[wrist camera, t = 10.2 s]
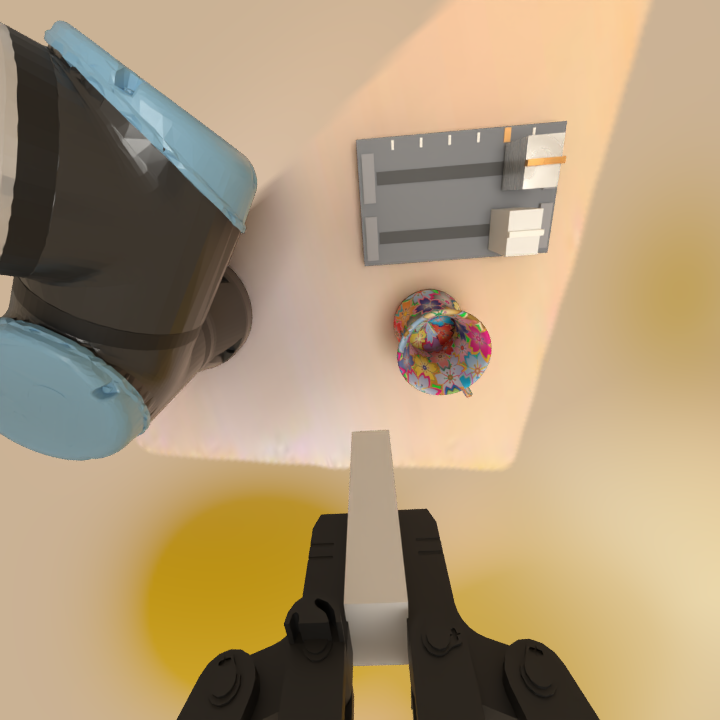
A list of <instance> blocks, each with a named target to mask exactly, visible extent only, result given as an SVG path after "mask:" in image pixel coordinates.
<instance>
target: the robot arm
mask: <svg viewBox="0 0 720 720" xmlns="http://www.w3.org/2000/svg"><path fill="white" fill-rule="evenodd" d="M44 39H45V41H46V42H47V43H48V47H47V46H43V45H41V44H39V43H37V42H36V41H33V40H32V39H30V38H28V37H27V36H24V35H23V34H21V33H19V32H17V31H16V30H14V29H12V28H10V27H8V26H6V25H5V24H3V23H1V22H0V275H8V276H14V279H13V286H12V291H11V298H10V304H9V308H8V310H7V312H6V313H5V314H4V315H3V316H2V317H0V434H2V435H3V436H5V437H7V438H8V439H10V440H12V441H13V442H15V443H17V444H19V445H21V446H23V447H26V448H28V449H30V450H33V451H36V452H38V453H42V454H44V455H48V456H52V457H56V458H61V459H67V460H89V459H92V458H93V459H98V458H104V457H107V456H110V455H112V454H114V453H116V452H118V451H120V450H121V449H123V448H124V447H125V446H126V445H127V444H129V443H130V442H131V441H132V440H133V439H134V438H135V437H137V436H139V435H141V434H143V433H144V432H145V430H146V429H147V428H148V427H149V425H150V422H151V421H152V420H153V419H154V418H155V417H156V416H157V415H158V414H159V413H160V412H161V411H162V410H163V409H164V408H165V407H166V405H167V404H168V403H169V402H170V401H171V400H172V399H173V398H174V397H175V396H176V395H177V394H178V393H179V392H180V391H181V390H182V389H183V387H184V386H185V385H186V384H187V383H188V382H189V381H190V380H191V379H192V378H193V377H194V376H195V375H196V374H197V372H201V371H204V370H207V369H210V368H213V367H216V366H218V365H221V364H223V363H224V362H226V361H227V360H229V359H230V358H231V357H233V356H234V355H235V354H236V353H237V351H238V350H239V349H240V348H241V347H242V345H243V344H244V343H245V341H246V339H247V337H248V335H249V332H250V329H251V324H252V309H251V303H250V300H249V297H248V294H247V291H246V289H245V287H244V286H243V284H242V282H241V281H240V279H239V278H238V276H237V275H236V274H235V273H234V272H233V271H232V270H231V269H230V268H229V267H228V266H227V265H228V263H229V260H230V258H231V255H232V253H233V250H234V248H235V245H236V243H237V240H238V238H239V236H240V233H245V230H246V226H245V221H246V218H247V215H248V213H249V210H250V207H251V204H252V201H253V199H254V196H255V193H256V189H257V177H256V173H255V170H254V168H253V166H252V164H251V163H250V161H249V160H248V159H247V158H246V157H245V156H244V155H243V154H242V153H241V152H239V151H238V150H237V149H235V148H234V147H233V146H232V145H230V144H229V143H228V142H226V141H225V140H224V139H222V138H221V137H220V136H218V135H217V134H216V133H214V132H213V131H212V130H210V129H209V128H208V127H206V126H205V125H203V124H202V123H201V122H200V121H198V120H197V119H196V118H194V117H193V116H192V115H190V114H189V113H188V112H186V111H185V110H184V109H182V108H181V107H179V106H178V105H177V104H176V103H174V102H173V101H172V100H170V99H169V98H168V97H166V96H165V95H163V94H162V93H161V92H159V91H158V90H157V89H155V88H154V87H153V86H151V85H150V84H149V83H147V82H145V81H144V80H143V79H142V78H140V77H139V76H138V75H137V74H136V73H134V72H133V71H131V70H130V69H129V68H127V67H126V66H125V65H123V64H122V63H121V62H119V61H118V60H116V59H115V58H114V57H113V56H111V55H110V54H109V53H108V52H106V51H105V50H103V49H102V48H101V47H100V46H98V45H97V44H96V43H94V42H93V41H92V40H90V39H89V38H88V37H86V36H85V35H84V34H82V33H81V32H80V31H78V30H77V29H76V28H74V27H73V26H71V25H70V24H68V23H67V22H64V21H57V22H55V23H54V25H53V26H52V28H51V30H47V31H45V37H44ZM284 626H285V629H286V633H287V636H286V637H285V638H283V639H282V640H281V641H280V642H278V643H276V644H274V645H272V646H270V647H268V648H265V649H263V650H261V651H258V652H256V653H254V654H251V655H249V654H248V653H246V652H244V651H243V650H236V649H235V650H232V649H231V650H228V651H226V652H223V653H221V654H219V655H218V656H217V657H216V658H214V659H213V660H212V661H211V662H210V663H209V664H208V665H207V666H206V668H205V669H204V671H203V672H202V674H201V675H200V677H199V679H198V680H197V682H196V684H195V686H194V688H193V690H192V692H191V694H190V695H189V697H188V699H187V701H186V703H185V705H184V707H183V709H182V711H181V713H180V714H179V716H178V718H177V720H354V694H353V686H352V678H353V666H369V665H401V664H402V665H404V664H409V670H410V680H411V708H412V709H413V720H599V718H598V716H597V715H596V713H595V712H594V710H593V708H592V707H591V706H590V704H589V702H588V701H587V699H586V697H585V696H584V694H583V693H582V691H581V690H580V688H579V687H578V685H577V683H576V682H575V680H574V679H573V677H572V676H571V674H570V672H569V671H568V670H567V668H566V666H565V665H564V663H563V662H562V661H561V660H560V658H559V657H558V656H557V655H556V654H555V652H553V651H552V650H550V649H549V648H548V647H546V646H545V645H544V644H542V643H540V642H537V641H534V640H531V639H522V640H517V641H516V642H514V643H513V644H511V645H510V646H509V645H506V644H503V643H500V642H498V641H494V640H492V639H489V638H486V637H484V636H482V635H480V634H478V633H476V632H475V631H473V630H472V629H471V628H469V627H468V625H467V624H466V623H465V622H464V621H463V620H462V618H461V617H460V615H459V613H458V611H457V609H456V606H455V603H454V599H453V594H452V590H451V585H450V581H449V577H448V572H447V568H446V563H445V559H444V554H443V550H442V545H441V541H440V537H439V532H438V528H437V523H436V521H435V520H434V518H433V517H432V515H431V514H430V513H429V511H428V510H427V509H414V510H413V509H412V510H398V508H397V500H396V491H395V481H394V472H393V463H392V454H391V445H390V436H389V430H378V431H360V432H352V442H351V463H350V485H349V505H348V513H346V514H324V515H321V516H320V517H319V519H318V521H317V522H316V524H315V526H314V528H313V531H312V538H311V547H310V551H309V560H308V564H307V571H306V578H305V584H304V591H303V597H302V598H301V599H299V600H298V601H297V602H295V604H294V605H293V606H292V608H291V609H290V610H289V612H288V614H287V617H286V619H285V622H284Z"/></svg>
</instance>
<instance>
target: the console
mask: <svg viewBox="0 0 720 720" xmlns="http://www.w3.org/2000/svg"><path fill="white" fill-rule="evenodd" d="M566 124H567V121H562V122H551V123H539V124H528V125H517V126H506V127H495V128H484V129H472V130H461V131H450V132H439V133H428V134H417V135H405V136H394V137H383V138H372V139H361V140H356V145H357V160H358V175H359V189H360V204H361V219H362V234H363V248H364V263H365V266H373V265H387V264H400V263H413V262H427V261H440V260H453V259H467V258H480V257H493V256H505V257H507V256H520V255H533V254H537V253H547V251H548V244H549V238H550V231H551V224H552V218H553V211H554V204H555V198H556V191H557V187H545V188H533V189H521V190H504V191H502V182H503V171H504V160H505V149H506V144H508V143H511V142H513V141H516V140H518V139H521V138H524V137H526V136H530V135H541V134H553V133H564V132H565V131H566Z"/></svg>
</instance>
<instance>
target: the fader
mask: <svg viewBox="0 0 720 720" xmlns="http://www.w3.org/2000/svg"><path fill="white" fill-rule="evenodd" d="M565 133H566V132H564V133H553V134H541V135H530V136H526V137H524V138H521V139H518V140H516V141H513V142H511V143H508V144H506V149H505V160H504V171H503V182H502V191H504V190H521V189H533V188H545V187H557V186H558V179H559V173H560V166H561V164H562V163H565V161H566V156H562V153H563V146H564V139H565Z"/></svg>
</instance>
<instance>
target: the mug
mask: <svg viewBox="0 0 720 720" xmlns="http://www.w3.org/2000/svg"><path fill="white" fill-rule="evenodd" d="M394 331H395V335H396V337H397V339H398V341H399V342H400V343H399V346H398V352H397V360H398V366H399V369H400V371H401V374H402V375H403V377H404V378H405V380H406V381H407V382H408V383H409V384H410V385H411V386H413V387H414V388H416V389H417V390H419V391H422V392H424V393H427V394H432V395H448V394H453V393H456V392H459V391H463V393H464V394H465V396H466V397H470V396H472V392H471V390H470V389H469V386H470V385H472V384H473V383H474V382H476V381H477V380H478V379H479V378H480V376H481V375H482V374H483V373H484V371H485V369H486V368H487V366H488V363H489V361H490V357H491V340H490V336H489V334H488V331H487V330H486V328H485V326H484V325H483V324H482V323H481V322H480V321H479V320H478V319H477V318H476V317H474V316H473V315H471V314H469V313H466V312H464V311H461V309H460V307H459V305H458V303H457V302H456V301H455V300H454V299H453V298H452V297H451V296H450V295H448V294H446V293H444V292H442V291H438V290H423V291H419V292H416V293H414V294H412V295H411V296H409V297H408V298H407V299H405V300H404V301H403V302H402V304H401V305H400V306H399V308H398V310H397V312H396V314H395V318H394Z"/></svg>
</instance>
